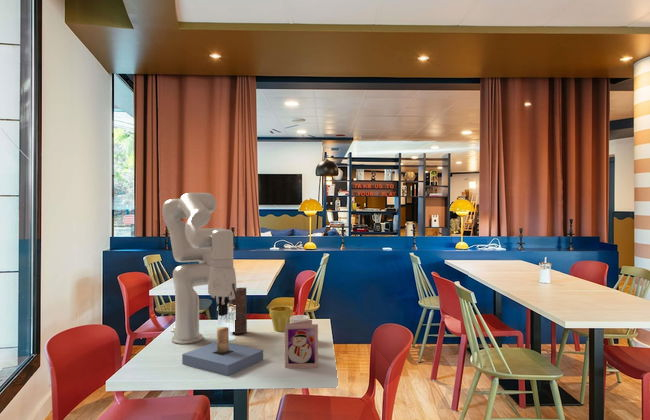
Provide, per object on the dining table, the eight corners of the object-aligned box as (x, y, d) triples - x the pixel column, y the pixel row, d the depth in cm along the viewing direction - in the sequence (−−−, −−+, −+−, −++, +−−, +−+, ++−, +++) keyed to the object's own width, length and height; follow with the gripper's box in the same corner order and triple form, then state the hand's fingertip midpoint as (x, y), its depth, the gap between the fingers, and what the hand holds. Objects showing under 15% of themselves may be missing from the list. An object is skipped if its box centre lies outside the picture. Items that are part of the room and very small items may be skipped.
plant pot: (268, 333, 196) (268, 311, 196) (271, 326, 206) (270, 305, 206) (291, 332, 196) (291, 310, 196) (293, 326, 206) (293, 305, 206)
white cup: (295, 345, 178) (295, 320, 178) (286, 340, 185) (286, 316, 185) (312, 342, 182) (312, 318, 182) (303, 337, 189) (303, 314, 189)
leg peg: (214, 362, 159) (214, 329, 159) (222, 359, 162) (222, 326, 162) (223, 364, 157) (222, 330, 157) (231, 361, 160) (231, 327, 160)
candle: (242, 336, 191) (242, 289, 191) (226, 335, 193) (226, 289, 193) (249, 331, 199) (249, 286, 199) (234, 330, 200) (233, 286, 200)
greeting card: (284, 368, 153) (284, 325, 153) (286, 361, 160) (286, 319, 160) (318, 368, 153) (317, 324, 153) (317, 360, 160) (317, 319, 160)
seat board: (182, 363, 158) (182, 354, 158) (218, 349, 173) (218, 340, 173) (228, 375, 146) (228, 365, 146) (263, 359, 162) (263, 350, 162)
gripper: (199, 263, 160) (200, 314, 160) (230, 266, 152) (231, 319, 152) (215, 261, 166) (215, 310, 167) (245, 264, 159) (245, 315, 159)
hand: (223, 314), depth 159 cm, fingers closed
